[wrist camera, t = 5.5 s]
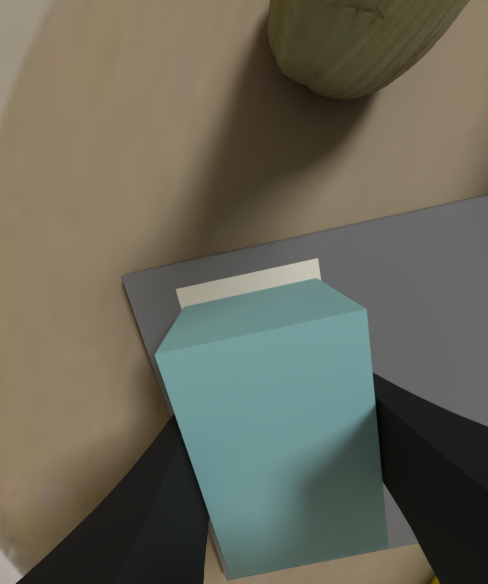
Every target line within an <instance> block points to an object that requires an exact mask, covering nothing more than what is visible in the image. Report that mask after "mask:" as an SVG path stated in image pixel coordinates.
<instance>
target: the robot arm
mask: <svg viewBox="0 0 488 584" xmlns="http://www.w3.org/2000/svg"><path fill="white" fill-rule="evenodd" d="M373 383H374V394H375V405H376V416H377V427H378V438H379V448H380V459H381V470H382V481H383V483H384V485H385V486H386V488H387V489H388V491H389V493H390V494H391V496H392V497H393V499H394V501H395V502H396V504H397V505H398V507H399V509H400V510H401V512H402V514H403V515H404V517H405V519H406V521H407V522H408V524H409V526H410V527H411V529H412V531H413V533H414V535H415V537H416V539H417V541H418V543H419V545H420V546H421V548H422V550H423V552H424V554H425V556H426V558H427V560H428V562H429V564H430V565H431V567H432V569H433V571H434V573H435V575H436V577H437V579H438V581H439V583H440V584H488V426H485V425H483V424H480V423H478V422H475V421H473V420H470V419H468V418H465V417H463V416H460V415H458V414H456V413H453V412H451V411H449V410H446V409H444V408H442V407H440V406H438V405H436V404H434V403H431V402H429V401H427V400H425V399H423V398H421V397H419V396H417V395H415V394H413V393H411V392H409V391H407V390H405V389H403V388H401V387H399V386H397V385H395V384H393V383H391V382H390V381H388V380H386V379H384V378H382V377H380V376H379V375H377V374H375V373H373ZM209 517H210V516H209V513H208V510H207V507H206V504H205V501H204V498H203V495H202V492H201V489H200V486H199V483H198V480H197V478H196V475H195V472H194V469H193V466H192V463H191V460H190V457H189V454H188V451H187V448H186V445H185V442H184V440H183V437H182V434H181V431H180V428H179V425H178V422H177V419H176V416H175V413H174V414H173V416H172V417H171V419H170V420H169V421H168V423H167V424H166V425H165V427H164V428H163V429H162V431H161V432H160V433H159V435H158V436H157V437H156V439H155V440H154V441H153V443H152V444H151V445H150V446H149V448H148V449H147V450H146V451H145V453H144V454H143V455H142V456H141V458H140V459H139V460H138V461H137V462H136V464H135V465H134V466H133V467H132V469H131V470H130V471H129V472H128V473H127V475H126V476H125V477H124V478H123V479H122V480H121V481H120V483H119V484H118V485H117V486H116V487H115V488H114V489H113V490H112V491H111V492H110V493H109V495H108V496H107V497H106V498H105V499H104V500H103V501H102V502H101V503H100V504H99V505H98V506H97V507H96V508H95V509H94V510H93V511H92V512H91V513H90V514H89V515H88V516H87V517H86V518H85V519H84V520H83V521H82V522H81V523H80V524H79V525H78V526H77V527H76V528H75V529H74V530H73V531H72V532H71V533H70V534H69V535H68V536H67V537H66V538H65V539H64V540H63V541H62V542H61V543H60V544H59V545H58V546H56V547H55V548H54V549H53V550H52V551H51V552H50V553H49V554H48V555H47V556H46V557H45V558H44V559H43V560H41V561H40V562H39V563H38V564H37V565H36V566H35V567H34V568H33V569H31V570H30V571H29V572H28V573H27V574H26V575H25V576H24V577H23V578H21V579H20V580H19V581H18V582H17V583H16V584H203V582H204V564H205V552H206V543H207V534H208V526H209Z"/></svg>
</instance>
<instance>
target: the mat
mask: <svg viewBox="0 0 488 584" xmlns="http://www.w3.org/2000/svg"><path fill="white" fill-rule="evenodd" d="M121 277H122V280H123V283H124V286H125V289H126V291H127V294H128V297H129V300H130V303H131V306H132V309H133V312H134V315H135V317H136V320H137V323H138V326H139V329H140V332H141V335H142V338H143V340H144V343H145V346H146V349H147V352H148V355H149V358H150V361H151V363H152V366H153V369H154V372H155V375H156V378H157V381H158V384H159V386H160V389H161V392H162V395H163V398H164V401H165V404H166V407H167V410H168V412H169V415H170V418H171V417H172V416H173V414H174V410H173V407H172V404H171V401H170V399H169V396H168V393H167V390H166V387H165V384H164V381H163V378H162V375H161V372H160V369H159V366H158V363H157V361H156V358H155V353H156V351H157V350H158V348H159V347H160V345H161V343H162V342H163V340H164V339H165V337H166V335H167V334H168V332H169V330H170V329H171V327H172V326H173V324H174V322H175V321H176V319H177V318H178V316H179V314H180V313H181V311H182V310H183V308H184V307H185V306H190V305H194V304H199V303H204V302H208V301H213V300H217V299H222V298H227V297H231V296H236V295H240V294H245V293H250V292H254V291H259V290H263V289H268V288H272V287H277V286H282V285H286V284H291V283H295V282H300V281H305V280H309V279H314V278H318V279H319V280H321V281H322V282H324V283H326V284H327V285H329V286H330V287H332V288H334V289H335V290H337V291H338V292H340V293H342V294H343V295H345V296H346V297H348V298H350V299H351V300H353V301H355V302H356V303H358V304H359V305H361V306H363V307H364V308H366V309H367V318H368V329H369V340H370V351H371V362H372V372H373V373H375V374H377V375H379V376H380V377H382V378H384V379H386V380H388V381H390V382H391V383H393V384H395V385H397V386H399V387H401V388H403V389H405V390H407V391H409V392H411V393H413V394H415V395H417V396H419V397H421V398H423V399H425V400H427V401H429V402H431V403H434V404H436V405H438V406H440V407H442V408H444V409H446V410H449V411H451V412H453V413H456V414H458V415H460V416H463V417H465V418H468V419H470V420H473V421H475V422H478V423H480V424H483V425H485V426H488V195H483V196H478V197H474V198H469V199H465V200H460V201H456V202H451V203H447V204H442V205H437V206H433V207H428V208H424V209H419V210H415V211H410V212H406V213H401V214H396V215H392V216H387V217H383V218H378V219H374V220H369V221H365V222H360V223H355V224H351V225H346V226H342V227H337V228H333V229H328V230H324V231H319V232H314V233H310V234H305V235H301V236H296V237H292V238H287V239H283V240H278V241H273V242H269V243H264V244H260V245H255V246H251V247H246V248H242V249H237V250H232V251H228V252H223V253H219V254H214V255H210V256H205V257H201V258H196V259H191V260H187V261H182V262H178V263H173V264H169V265H164V266H160V267H155V268H150V269H146V270H141V271H137V272H132V273H128V274H125V275H123V276H121ZM383 492H384V503H385V514H386V525H387V535H388V546H389V548H386V549H390V548H395V547H400V546H405V545H410V544H415V543H418V541H417V539H416V537H415V535H414V533H413V531H412V529H411V527H410V526H409V524H408V522H407V521H406V519H405V517H404V515H403V514H402V512H401V510H400V509H399V507H398V505H397V504H396V502H395V501H394V499H393V497H392V496H391V494H390V493H389V491H388V489H387V488H386V486H385V485H384V483H383ZM208 528H209V530H210V533H211V536H212V539H213V542H214V545H215V548H216V551H217V553H218V556H219V559H220V562H221V565H222V568H223V571H224V574H225V576H226V579H227V580H232V579H231V577H230V574H229V571H228V568H227V565H226V562H225V559H224V556H223V554H222V551H221V548H220V545H219V542H218V539H217V536H216V533H215V530H214V527H213V524H212V521H211V518H210V517H209V526H208ZM381 550H385V549H381ZM376 551H380V550H376ZM371 552H374V551H371ZM366 553H369V552H366ZM361 554H364V553H361ZM356 555H359V554H356ZM351 556H354V555H351ZM346 557H349V556H346ZM341 558H344V557H341ZM336 559H339V558H336ZM331 560H334V559H331ZM326 561H329V560H326ZM321 562H324V561H321ZM316 563H319V562H316ZM311 564H313V563H311ZM306 565H308V564H306ZM301 566H303V565H301ZM296 567H298V566H296ZM291 568H293V567H291ZM286 569H288V568H286ZM281 570H283V569H281ZM276 571H278V570H276ZM271 572H273V571H271ZM266 573H268V572H266ZM261 574H263V573H261ZM256 575H258V574H256ZM250 576H252V575H250ZM245 577H247V576H245ZM240 578H242V577H240ZM235 579H237V578H235Z"/></svg>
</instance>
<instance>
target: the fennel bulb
mask: <svg viewBox="0 0 488 584" xmlns="http://www.w3.org/2000/svg"><path fill="white" fill-rule="evenodd" d="M469 1H470V0H270V9H269V16H268V24H267V32H268V39H269V44H270V48H271V50H272V52H273V54H274V56H275V57H276V60H277V63H278V66H279V68H280V70H281V71H282V73H283V74H284V75H285V76H287V77H288V78H290V79H291V80H293V81H295V82H297V83H300V84H302V85H305V86H307V87H308V88H309V89H310V90H312V91H313V92H315V93H317V94H320V95H322V96H324V97H329V98H335V99H355V98H359V97H362V96H365V95H368V94H371V93H373V92H375V91H377V90H379V89H381V88H383V87H385V86H387V85H388V84H390V83H391V82H393V81H394V80H395V79H397V78H398V77H399V76H401V75H402V74H403V73H405V72H406V71H407V70H409V69H410V68H411V67H412V66H413V65H415V64H416V63H417V62H418V61H419V60H420V59H421V58H422V57H423V56H424V55H425V54H426V53H427V52H428V51H429V50H430V49H431V48H432V47H433V46H434V45H435V43H436V42H437V41H438V40H439V39H440V38H441V37H442V36H443V34H444V33H445V32H446V31H447V29H448V28H449V27H450V26H451V25H452V23H453V22H454V21H455V19H456V18H457V17H458V15H459V14H460V12H461V11H462V10H463V8H464V7H465V6H466V5H467V3H468V2H469Z"/></svg>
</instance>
